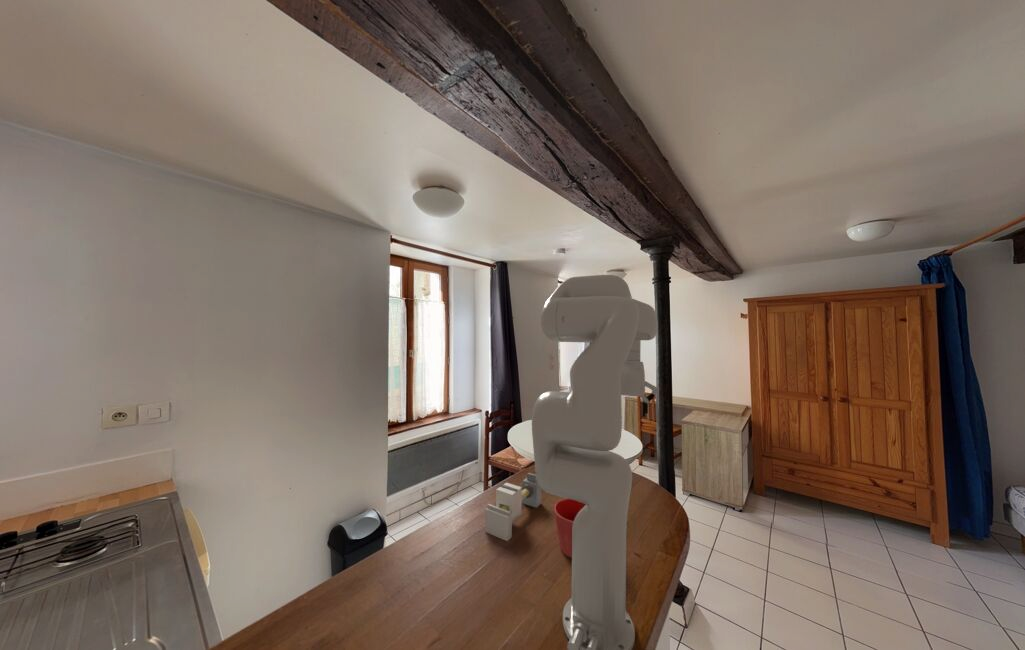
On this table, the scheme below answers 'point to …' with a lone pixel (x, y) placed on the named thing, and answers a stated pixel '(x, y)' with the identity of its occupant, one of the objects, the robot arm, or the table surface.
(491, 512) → the rail
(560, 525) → the flower pot
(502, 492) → the grooved sliding block
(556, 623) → the table surface
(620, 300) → the robot arm
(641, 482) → the table surface
